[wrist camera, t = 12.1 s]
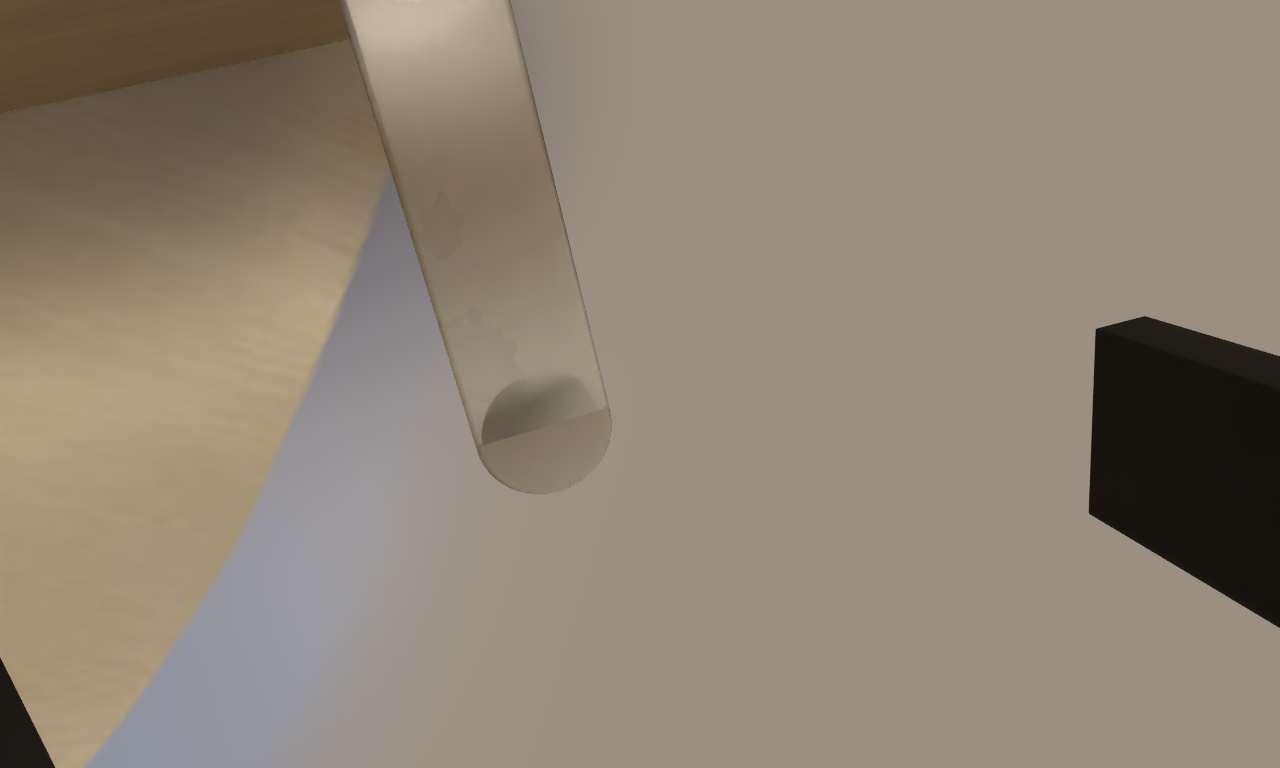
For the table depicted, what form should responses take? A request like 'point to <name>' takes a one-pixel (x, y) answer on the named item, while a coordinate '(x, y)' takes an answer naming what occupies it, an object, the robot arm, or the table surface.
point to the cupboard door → (397, 181)
